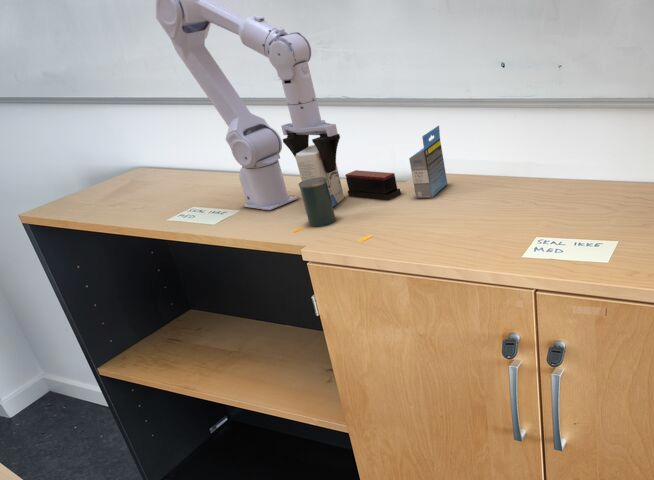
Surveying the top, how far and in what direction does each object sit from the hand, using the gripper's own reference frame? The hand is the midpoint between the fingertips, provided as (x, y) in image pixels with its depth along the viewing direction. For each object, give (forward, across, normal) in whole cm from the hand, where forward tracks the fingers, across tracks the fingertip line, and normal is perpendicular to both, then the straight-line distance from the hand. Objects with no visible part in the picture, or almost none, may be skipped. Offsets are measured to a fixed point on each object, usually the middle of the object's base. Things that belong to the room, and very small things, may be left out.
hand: (318, 170), depth 141 cm
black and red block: (+7, -6, -8) cm, 13 cm away
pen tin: (+7, -8, +8) cm, 14 cm away
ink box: (+8, 0, 0) cm, 8 cm away
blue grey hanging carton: (+8, -18, -13) cm, 24 cm away
